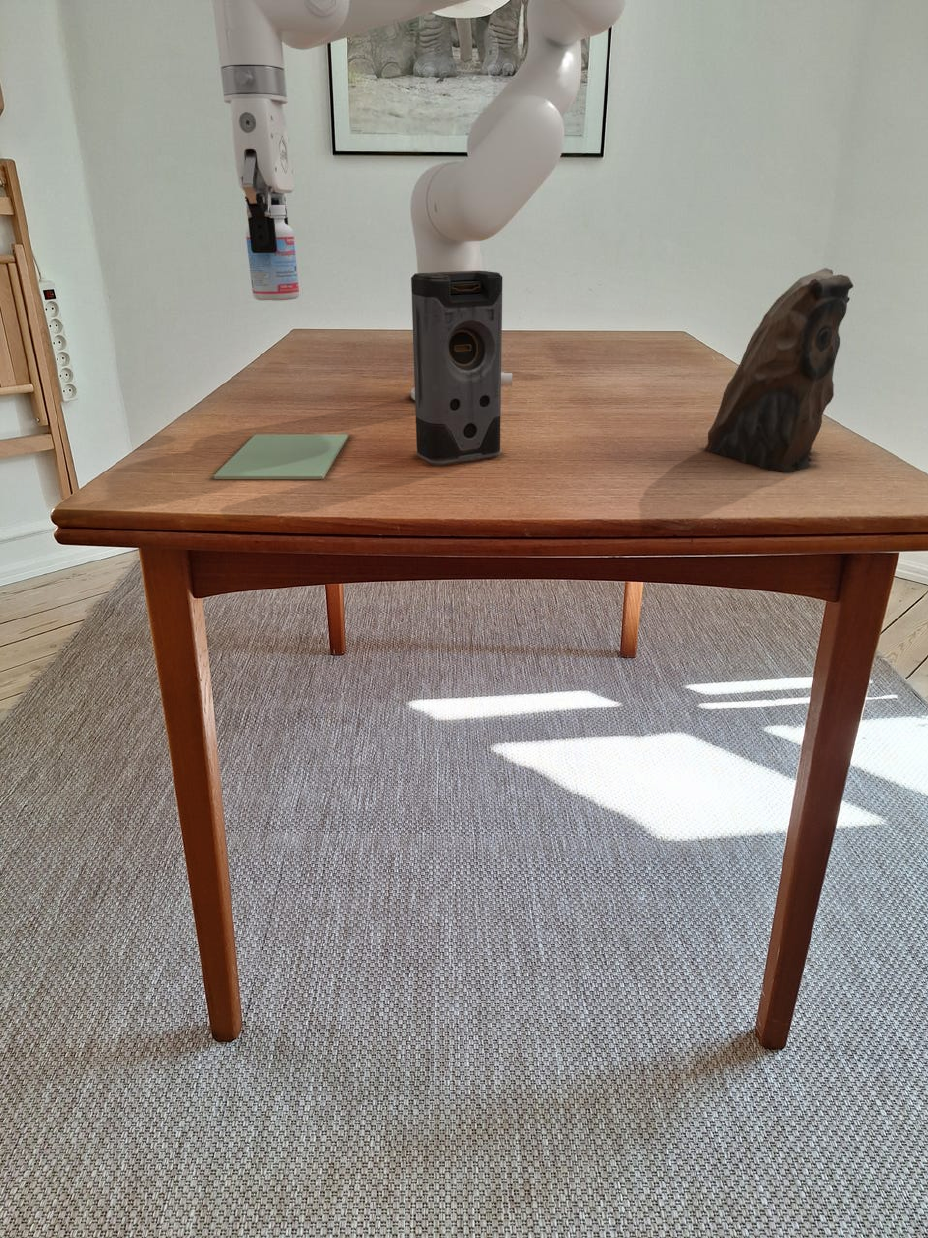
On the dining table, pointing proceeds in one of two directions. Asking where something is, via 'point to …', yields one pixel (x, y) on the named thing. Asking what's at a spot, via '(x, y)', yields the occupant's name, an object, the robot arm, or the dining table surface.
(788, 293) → the owl
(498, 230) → the robot arm
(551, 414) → the dining table surface
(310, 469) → the side mat
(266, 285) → the pill bottle
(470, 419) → the electronic device
